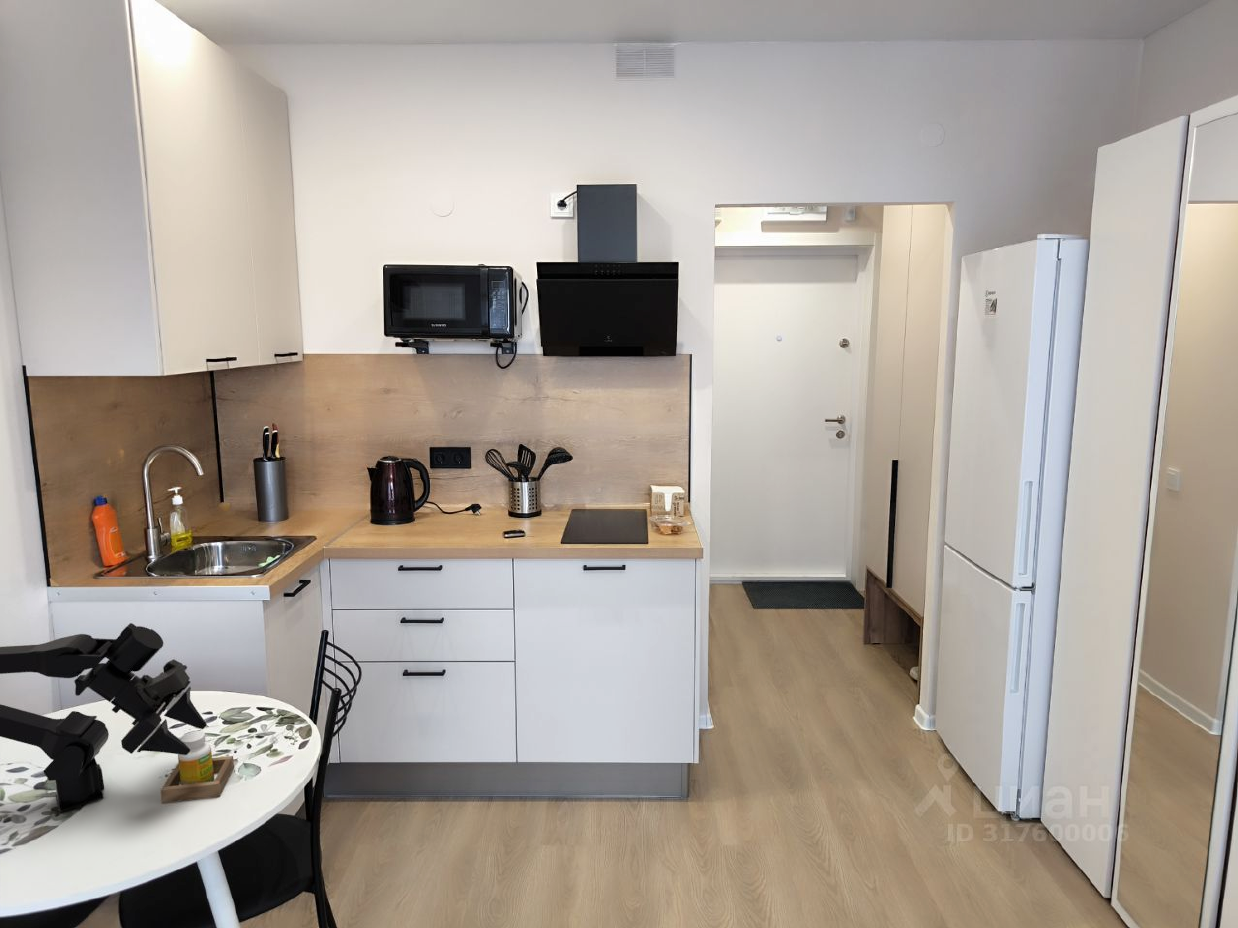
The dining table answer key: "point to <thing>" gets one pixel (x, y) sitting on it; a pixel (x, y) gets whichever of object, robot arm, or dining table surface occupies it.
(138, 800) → the dining table surface
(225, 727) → the dining table surface
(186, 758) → the supplement bottle
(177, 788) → the walnut collar
